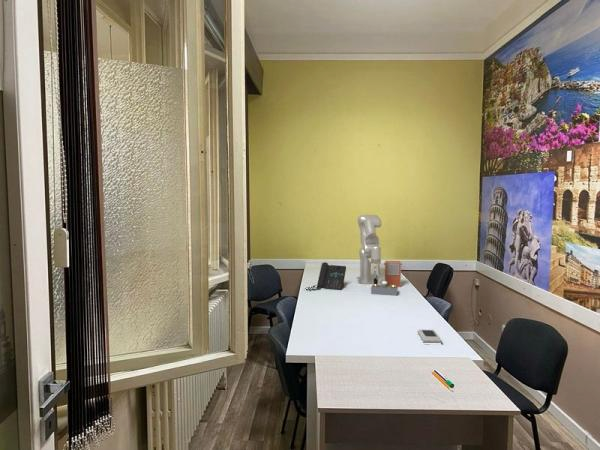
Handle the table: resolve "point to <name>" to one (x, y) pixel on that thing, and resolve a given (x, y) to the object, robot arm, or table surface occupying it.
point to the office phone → (331, 277)
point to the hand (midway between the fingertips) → (375, 284)
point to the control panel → (393, 273)
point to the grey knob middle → (384, 283)
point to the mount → (384, 290)
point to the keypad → (429, 336)
